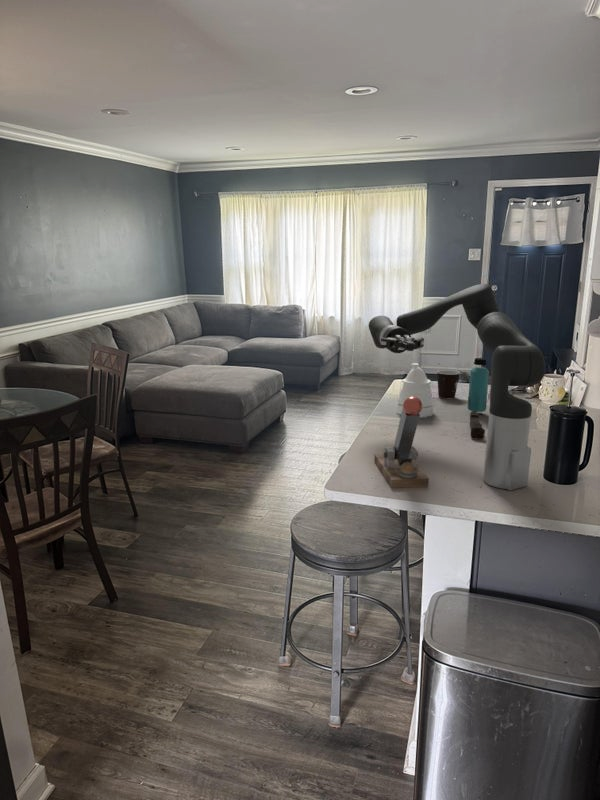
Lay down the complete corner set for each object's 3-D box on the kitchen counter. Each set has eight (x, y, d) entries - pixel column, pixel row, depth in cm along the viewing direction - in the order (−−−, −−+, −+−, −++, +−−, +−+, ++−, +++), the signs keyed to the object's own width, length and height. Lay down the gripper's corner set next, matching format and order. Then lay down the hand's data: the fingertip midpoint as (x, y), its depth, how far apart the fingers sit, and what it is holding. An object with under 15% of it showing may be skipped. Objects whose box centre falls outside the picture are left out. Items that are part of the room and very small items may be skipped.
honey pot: (424, 419, 185) (427, 367, 181) (390, 413, 192) (392, 363, 188) (438, 411, 196) (441, 362, 191) (405, 406, 203) (407, 358, 198)
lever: (389, 451, 138) (402, 392, 125) (406, 450, 138) (421, 392, 125) (394, 470, 133) (409, 412, 120) (412, 470, 134) (428, 411, 120)
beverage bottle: (489, 415, 191) (495, 359, 186) (474, 417, 188) (479, 360, 184) (477, 410, 197) (482, 356, 192) (462, 412, 194) (466, 357, 190)
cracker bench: (374, 461, 145) (375, 438, 144) (407, 460, 146) (408, 437, 144) (390, 487, 128) (392, 461, 126) (428, 486, 129) (429, 460, 127)
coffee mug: (445, 393, 223) (447, 369, 221) (462, 397, 216) (464, 373, 214) (425, 397, 217) (427, 372, 215) (442, 401, 210) (444, 376, 208)
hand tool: (484, 440, 164) (485, 425, 163) (470, 439, 165) (471, 424, 164) (480, 423, 181) (482, 410, 180) (468, 422, 183) (469, 409, 181)
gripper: (373, 326, 159) (387, 333, 142) (417, 325, 160) (436, 332, 143) (372, 351, 161) (386, 361, 144) (415, 351, 162) (434, 360, 145)
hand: (411, 347), depth 144 cm, fingers closed
